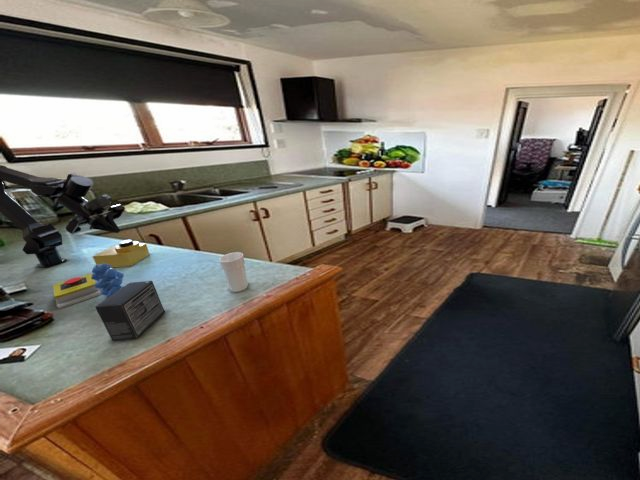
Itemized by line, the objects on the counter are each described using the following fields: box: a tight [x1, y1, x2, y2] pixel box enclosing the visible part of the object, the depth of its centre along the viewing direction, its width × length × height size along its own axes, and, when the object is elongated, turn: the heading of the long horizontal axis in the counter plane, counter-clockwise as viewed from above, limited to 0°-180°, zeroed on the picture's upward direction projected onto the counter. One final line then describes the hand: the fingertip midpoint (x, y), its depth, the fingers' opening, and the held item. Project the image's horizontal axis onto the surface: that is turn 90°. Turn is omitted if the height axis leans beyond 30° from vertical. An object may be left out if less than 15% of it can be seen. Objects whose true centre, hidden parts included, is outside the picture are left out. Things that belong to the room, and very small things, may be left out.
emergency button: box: [52, 273, 102, 309], centre depth 87 cm, size 9×4×15 cm
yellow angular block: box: [92, 240, 151, 268], centre depth 107 cm, size 12×10×7 cm
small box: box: [94, 280, 166, 342], centre depth 70 cm, size 11×6×10 cm, turn 5°
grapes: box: [91, 264, 125, 298], centre depth 83 cm, size 12×7×12 cm, turn 71°
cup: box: [218, 251, 249, 293], centre depth 85 cm, size 7×7×11 cm
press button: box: [118, 239, 134, 247], centre depth 106 cm, size 4×4×2 cm
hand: (119, 232), depth 104 cm, fingers closed
